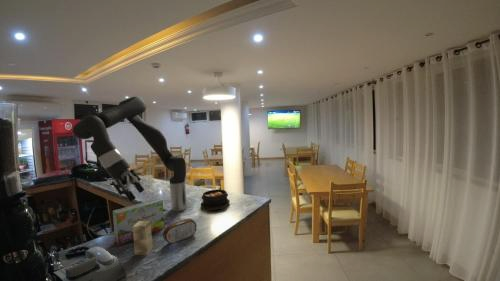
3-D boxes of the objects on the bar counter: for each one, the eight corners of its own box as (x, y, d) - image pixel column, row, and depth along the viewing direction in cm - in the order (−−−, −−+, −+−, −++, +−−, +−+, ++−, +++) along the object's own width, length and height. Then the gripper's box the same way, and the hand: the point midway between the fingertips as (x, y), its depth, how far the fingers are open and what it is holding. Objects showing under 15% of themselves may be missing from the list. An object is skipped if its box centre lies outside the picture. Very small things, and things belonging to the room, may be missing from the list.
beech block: (135, 255, 88) (132, 226, 88) (141, 248, 93) (138, 221, 93) (147, 254, 88) (144, 226, 88) (152, 247, 93) (150, 220, 93)
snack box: (118, 246, 96) (115, 213, 95) (115, 242, 100) (112, 210, 99) (165, 228, 111) (162, 199, 110) (160, 225, 115) (158, 197, 114)
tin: (195, 232, 105) (194, 215, 104) (198, 235, 103) (197, 217, 102) (163, 244, 95) (162, 226, 95) (165, 247, 93) (164, 228, 92)
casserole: (233, 210, 130) (232, 196, 130) (201, 215, 126) (200, 200, 125) (226, 197, 154) (226, 185, 154) (200, 201, 150) (199, 189, 149)
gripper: (115, 163, 93) (137, 193, 96) (95, 172, 79) (121, 208, 82) (130, 154, 93) (152, 184, 96) (112, 162, 79) (138, 198, 82)
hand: (137, 195), depth 89 cm, fingers open, 8 cm apart
